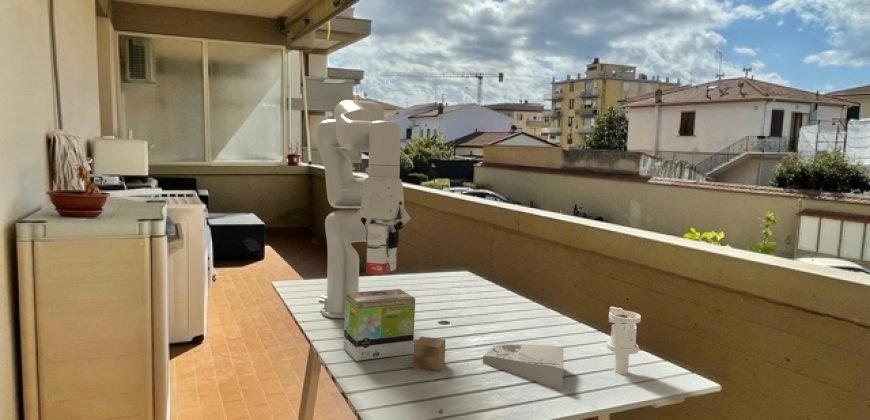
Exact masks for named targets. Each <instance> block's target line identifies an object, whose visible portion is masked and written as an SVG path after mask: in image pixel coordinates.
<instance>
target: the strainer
mask: <svg viewBox="0 0 870 420" xmlns="http://www.w3.org/2000/svg"><path fill="white" fill-rule="evenodd" d="M622 316H625V317H622ZM641 320H642V316H641V314H639V313H637V312H635V311H630V310H624V308H622V307H616V306H609V312H608V322H609V323H612V325H611V329H610V339H609V340H607V341H606V349H608V350H609V351H611V352H613V353H615V354H614V366H613V367H614V368H613V371H614V373H616V374H619V375H627V374H628V373H629V358H630V355H635V354H638V353H639V348H640V347H639V345H638V344H637V343H636V342H637V324H638V323H640V322H642V321H641Z"/></svg>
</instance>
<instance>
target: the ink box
mask: <svg viewBox="0 0 870 420" xmlns="http://www.w3.org/2000/svg"><path fill="white" fill-rule="evenodd" d="M389 232H391V230H390V226H389V222H386V221H385V222H384V221H382V222H377V223H373V224H369V226H368V235H367V241H366V268H365V269H366V270H365V271H366V274H371V275H382V276H384V275H387V274H389V273H391V272H393V271H394V270H396V269H397V253H398V252H397V248H398V247H397V248H393V249H389V248H388V237H389Z"/></svg>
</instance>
